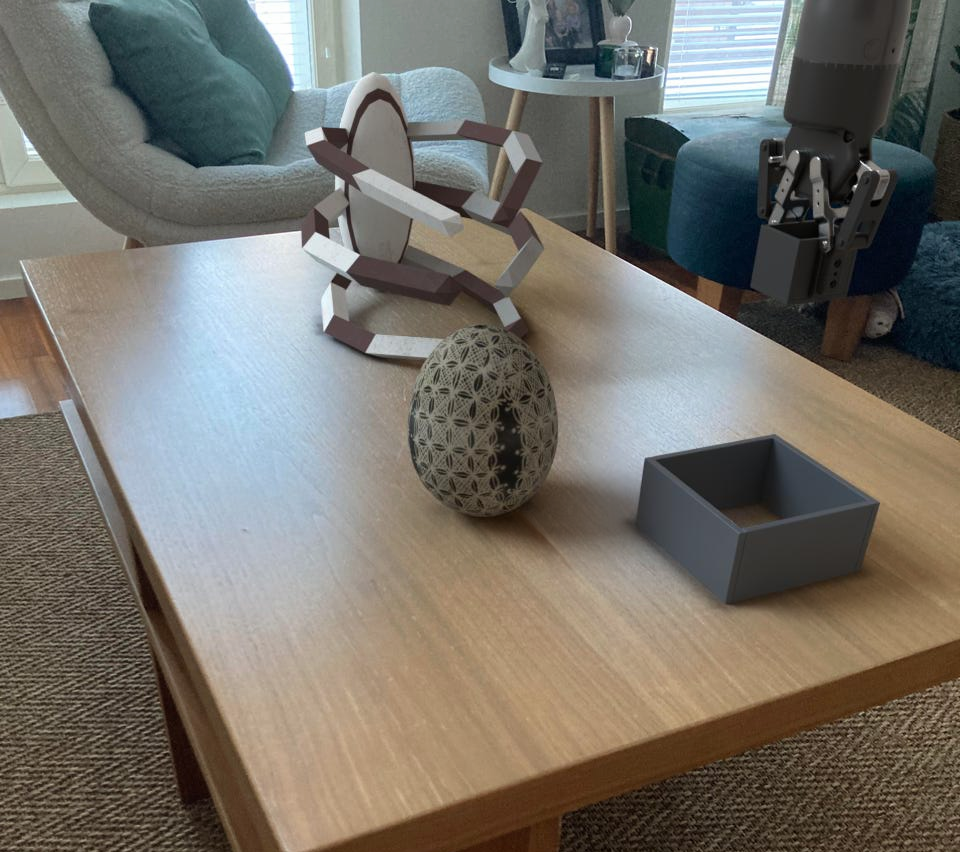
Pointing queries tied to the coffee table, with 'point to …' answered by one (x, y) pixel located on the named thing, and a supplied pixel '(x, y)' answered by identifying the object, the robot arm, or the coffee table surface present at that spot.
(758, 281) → the small bin
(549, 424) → the decorative egg
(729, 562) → the grey bin
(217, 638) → the coffee table surface
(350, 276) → the segmented loop sculpture
